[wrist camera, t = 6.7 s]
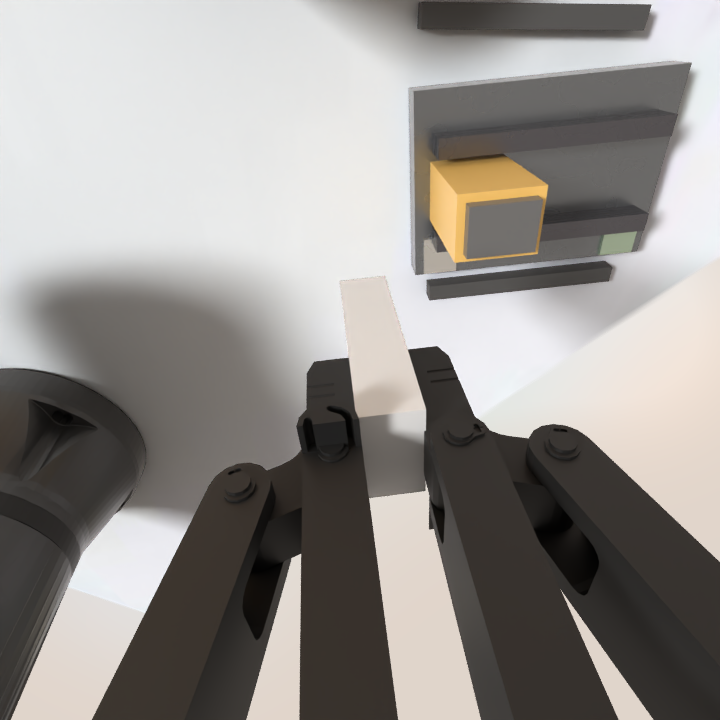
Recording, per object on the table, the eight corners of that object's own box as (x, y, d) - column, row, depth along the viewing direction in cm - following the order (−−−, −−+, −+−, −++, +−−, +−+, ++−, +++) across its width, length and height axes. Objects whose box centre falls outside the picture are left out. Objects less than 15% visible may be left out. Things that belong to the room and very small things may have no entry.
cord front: (417, 28, 23) (421, 28, 22) (418, 2, 22) (423, 1, 21) (632, 30, 23) (644, 30, 22) (639, 5, 23) (651, 4, 22)
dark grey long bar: (426, 293, 31) (429, 300, 30) (426, 279, 31) (429, 286, 30) (601, 274, 31) (608, 280, 31) (604, 260, 31) (612, 267, 30)
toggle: (429, 219, 27) (457, 268, 21) (430, 161, 25) (460, 198, 20) (497, 212, 27) (542, 259, 21) (503, 154, 25) (554, 189, 20)
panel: (411, 264, 30) (419, 285, 28) (408, 87, 24) (418, 94, 22) (624, 242, 30) (650, 261, 28) (672, 60, 24) (712, 64, 22)
